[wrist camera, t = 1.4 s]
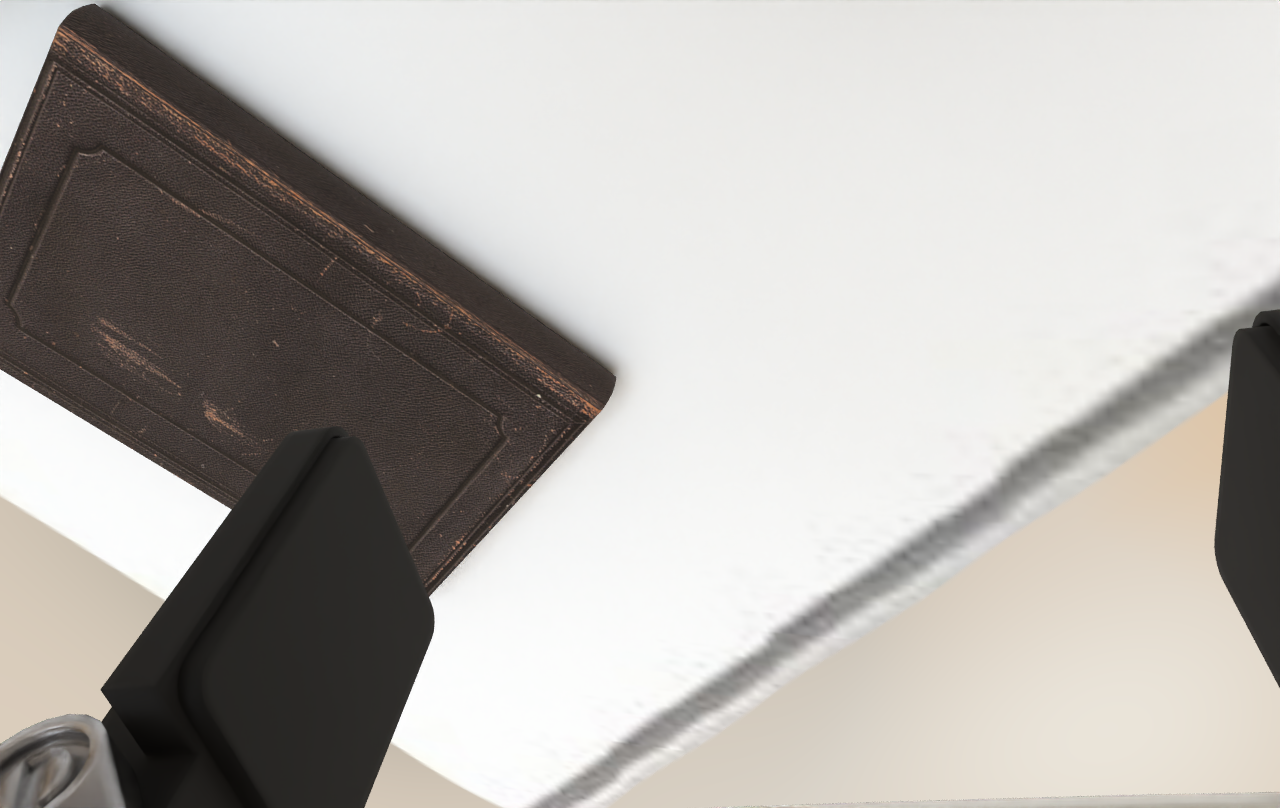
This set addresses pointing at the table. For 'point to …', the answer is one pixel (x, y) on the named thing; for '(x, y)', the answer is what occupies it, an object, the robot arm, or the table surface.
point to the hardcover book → (260, 303)
